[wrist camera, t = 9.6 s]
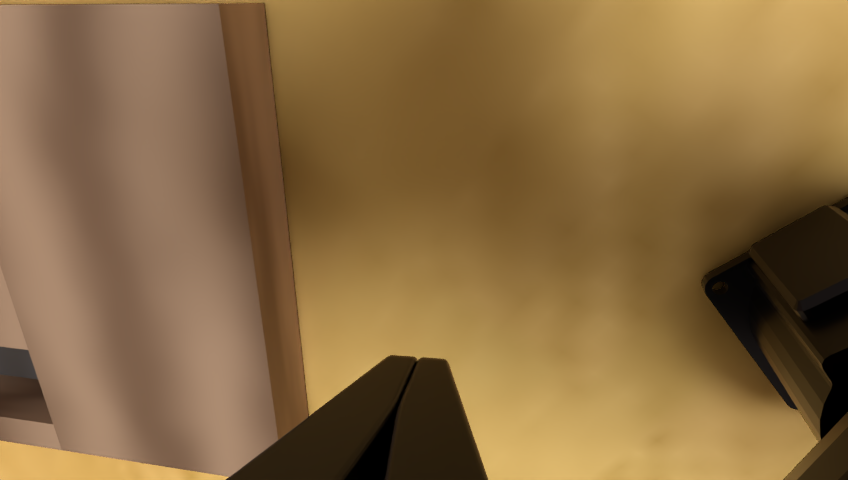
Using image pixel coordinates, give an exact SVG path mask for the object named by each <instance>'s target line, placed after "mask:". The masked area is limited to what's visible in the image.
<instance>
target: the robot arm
mask: <svg viewBox="0 0 848 480" xmlns="http://www.w3.org/2000/svg"><path fill="white" fill-rule="evenodd" d="M717 282H725V284H724V286H723V287H722V288H720V289H712V287H713V285H714V284H715V283H717ZM702 288H703V290H704V292H705V294H706V295H707V297H708V298H709V299H710V301H711V302H712V303H713V305H714V306H715V308H716V309H717V310H718V312H719V313H720V314H721V316H722V317H723V318H724V320H725V321H726V322H727V324H728V325H729V326H730V328H731V329H732V331H733V332H734V333H735V335H736V336H737V337H738V339H739V340H740V341H741V343H742V344H743V345H744V347H745V348H746V349H747V351H748V352H749V354H750V355H751V356H752V358H753V359H754V360H755V362H756V363H757V364H758V366H759V367H760V368H761V370H762V371H763V372H764V374H765V375H766V376H767V378H768V379H769V381H770V382H771V383H772V385H773V386H774V387H775V389H776V390H777V391H778V393H779V394H780V395H781V397H782V398H783V399H784V401H785V402H786V404H787V405H788V406H789V407H791V408H793V409H796V410H799V412H800V413H801V415H802V416H803V418H804V420H805V421H806V423H807V424H808V426H809V428H810V429H811V431H812V432H813V434H814V436H815V437H816V439H817V441H818V442H819V443H818V444H817V445H816V446H815V447H814V448H813V449H812V450H811V451H810V452H809V453H808V454H807V455H806V456H805V457H804V458H803V459H802V460H801V462H800V463H799V464H798V465H797V466H796V467H795V468H794V469H793V470H792V471H791V472H790V473H789V474H788V475H787V476H786V477H785V478H784V480H848V197H847V198H845V199H844V200H842V201H840V202H838V203H836V204H834V205H832V206H823V207H821V208H819V209H817V210H815V211H813V212H812V213H810V214H808V215H806V216H804V217H802V218H801V219H799V220H797V221H795V222H793V223H791V224H790V225H788V226H786V227H784V228H782V229H781V230H779V231H777V232H775V233H773V234H771V235H770V236H768V237H766V238H764V239H762V240H760V241H759V242H757V243H755V244H753V245H752V247H751V249H750V251H748V252H746V253H744V254H742V255H741V256H739V257H737V258H735V259H733V260H731V261H730V262H728V263H726V264H724V265H722V266H720V267H718V268H717V269H715V270H713V271H711V272H709V273H708V274H707V275H705V276H704V278H703V280H702ZM226 480H488V478H487V475H486V472H485V469H484V466H483V463H482V460H481V457H480V454H479V451H478V448H477V445H476V442H475V440H474V437H473V434H472V431H471V428H470V425H469V422H468V419H467V416H466V413H465V410H464V407H463V404H462V401H461V398H460V396H459V393H458V390H457V387H456V384H455V381H454V378H453V375H452V372H451V369H450V366H449V363H448V362H447V360H445V359H437V358H420V359H419V360H417V359H416V358H415V357H410V356H397V355H390V356H388V357H386V358H385V359H384V360H382V361H381V362H380V363H379V364H377V365H376V366H375V367H373V368H372V369H371V370H369V371H368V372H367V373H365V374H364V375H363V376H361V377H360V378H359V379H358V380H356V381H355V382H354V383H352V384H351V385H350V386H348V387H347V388H346V389H344V390H343V391H342V392H340V393H339V394H338V395H336V396H335V397H334V398H333V399H331V400H330V401H329V402H327V403H326V404H325V405H323V406H322V407H321V408H319V409H318V410H317V411H315V412H314V413H313V414H312V415H310V416H309V417H308V418H306V419H305V420H304V421H302V422H301V423H300V424H298V425H297V426H296V427H294V428H293V429H292V430H290V431H289V432H288V433H287V434H285V435H284V436H283V437H281V438H280V439H279V440H277V441H276V442H275V443H273V444H272V445H271V446H269V447H268V448H267V449H266V450H264V451H263V452H262V453H260V454H259V455H258V456H256V457H255V458H254V459H252V460H251V461H250V462H248V463H247V464H246V465H245V466H243V467H242V468H241V469H239V470H238V471H237V472H235V473H234V474H233V475H231V476H230V477H229V478H227V479H226Z"/></svg>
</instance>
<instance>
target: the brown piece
mask: <svg viewBox="0 0 848 480" xmlns="http://www.w3.org/2000/svg"><path fill="white" fill-rule="evenodd" d="M308 417H309V416H308V407H307V397H306V388H305V379H304V370H303V360H302V351H301V342H300V332H299V323H298V314H297V305H296V295H295V286H294V277H293V267H292V258H291V249H290V239H289V230H288V221H287V212H286V202H285V193H284V184H283V174H282V165H281V156H280V147H279V137H278V128H277V119H276V109H275V100H274V91H273V82H272V72H271V63H270V54H269V44H268V35H267V26H266V16H265V7H264V3H208V4H0V440H1V441H7V442H14V443H20V444H26V445H33V446H39V447H45V448H52V449H58V450H64V451H70V452H77V453H83V454H89V455H96V456H102V457H108V458H115V459H121V460H127V461H134V462H140V463H146V464H152V465H159V466H165V467H171V468H178V469H184V470H190V471H197V472H203V473H209V474H215V475H222V476H228V477H230V476H231V475H233V474H234V473H235V472H237V471H238V470H239V469H241V468H242V467H243V466H245V465H246V464H247V463H248V462H250V461H251V460H252V459H254V458H255V457H256V456H258V455H259V454H260V453H262V452H263V451H264V450H266V449H267V448H268V447H269V446H271V445H272V444H273V443H275V442H276V441H277V440H279V439H280V438H281V437H283V436H284V435H285V434H287V433H288V432H289V431H290V430H292V429H293V428H294V427H296V426H297V425H298V424H300V423H301V422H302V421H304V420H305V419H306V418H308Z"/></svg>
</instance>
